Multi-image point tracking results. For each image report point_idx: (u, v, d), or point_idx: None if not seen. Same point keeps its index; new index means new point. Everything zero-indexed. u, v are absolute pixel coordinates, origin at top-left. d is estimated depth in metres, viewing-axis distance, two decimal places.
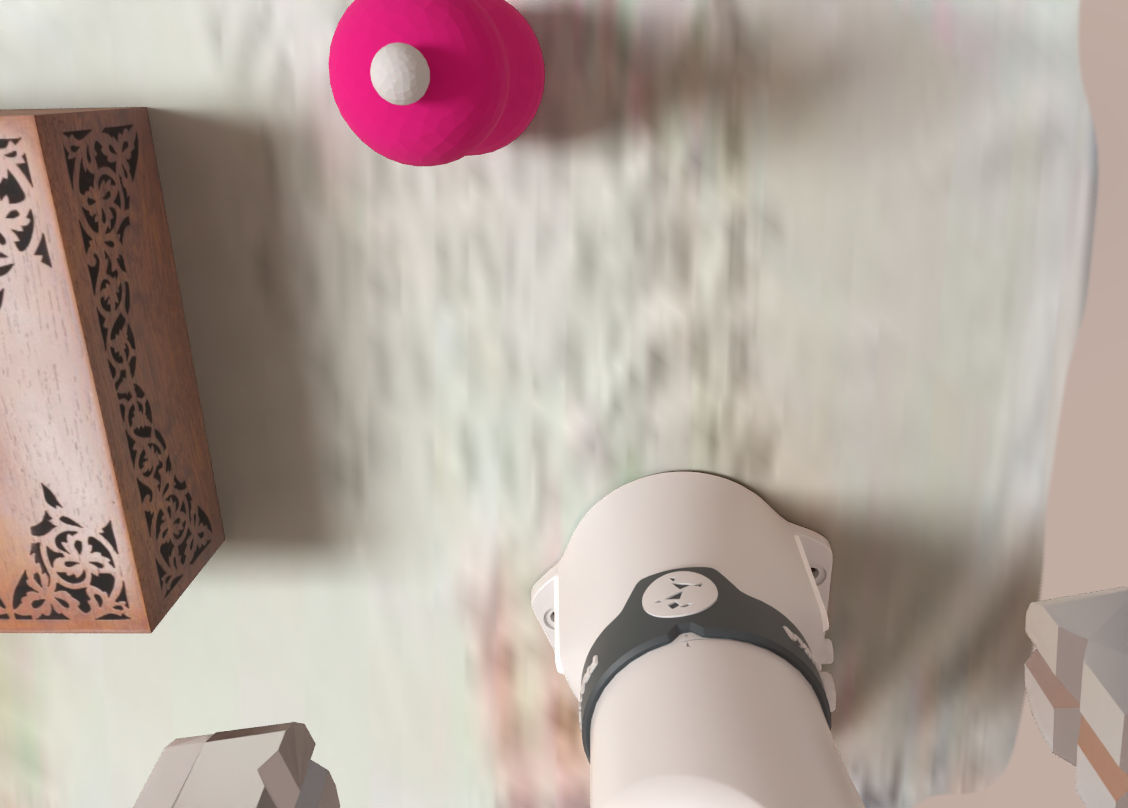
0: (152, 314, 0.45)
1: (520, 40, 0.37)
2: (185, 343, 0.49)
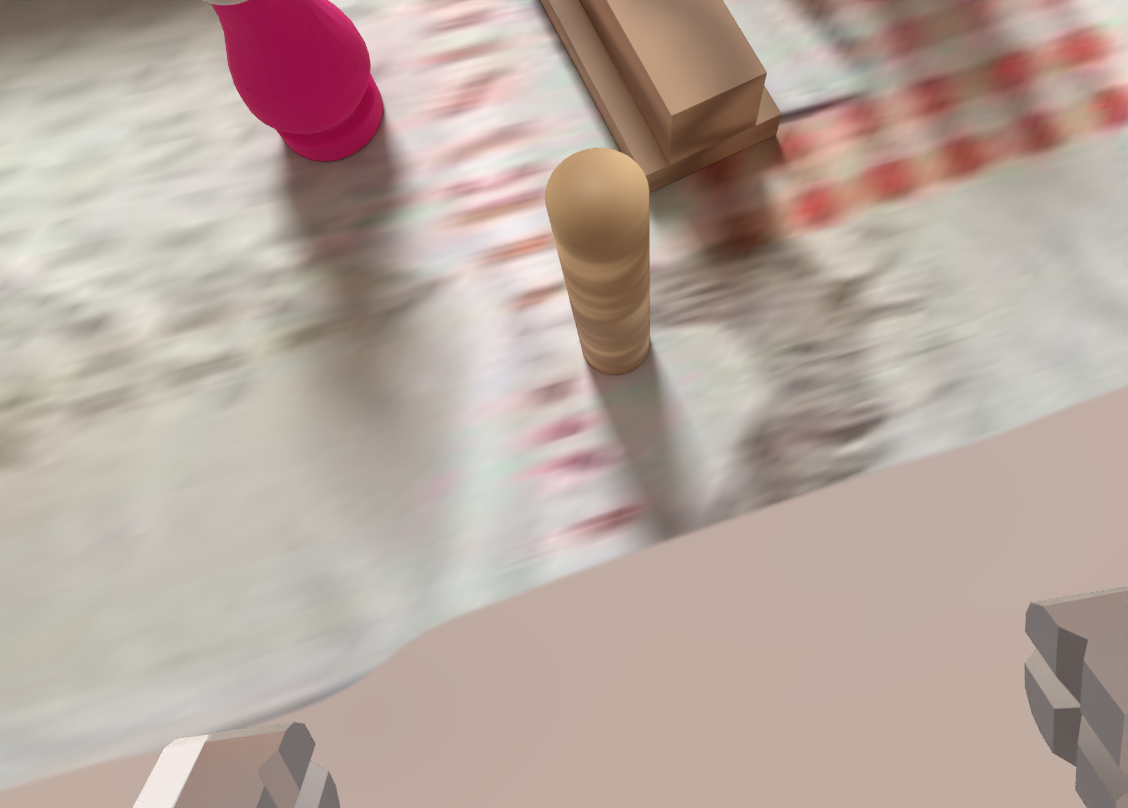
0: None
1: (316, 76, 0.43)
2: None
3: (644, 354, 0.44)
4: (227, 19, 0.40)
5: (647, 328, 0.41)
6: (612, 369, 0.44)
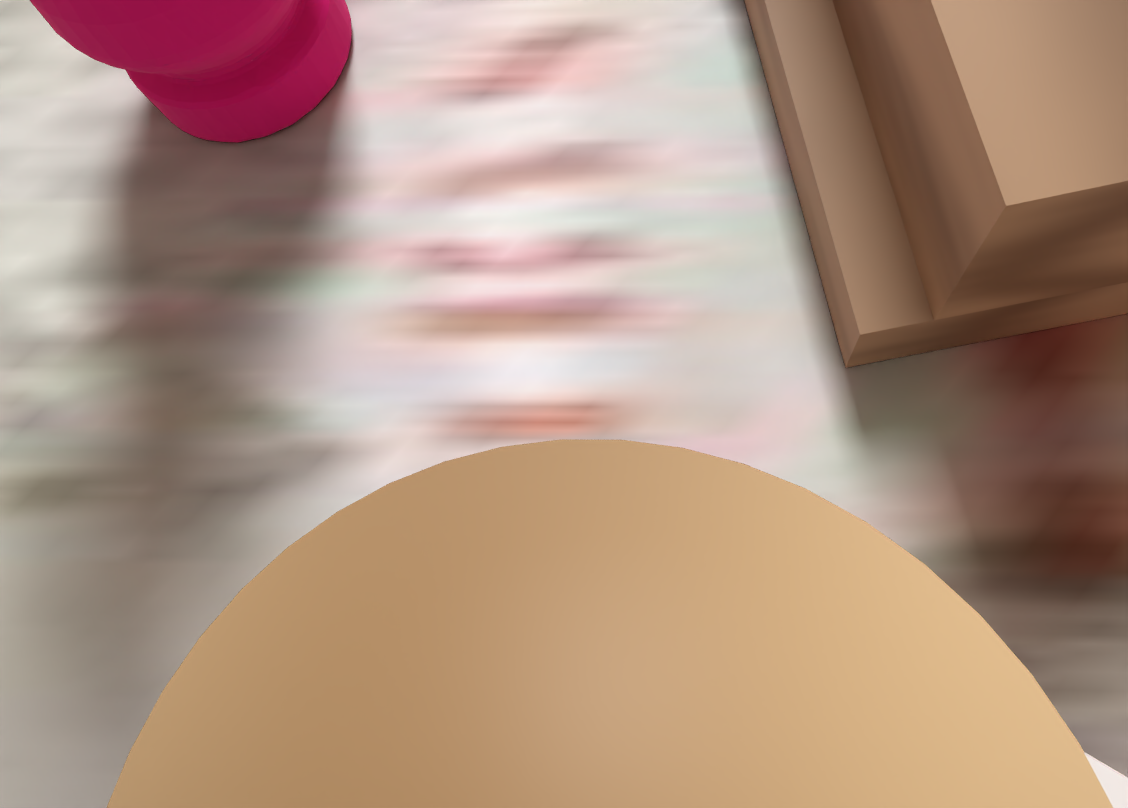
0: None
1: None
2: None
3: None
4: None
5: None
6: None
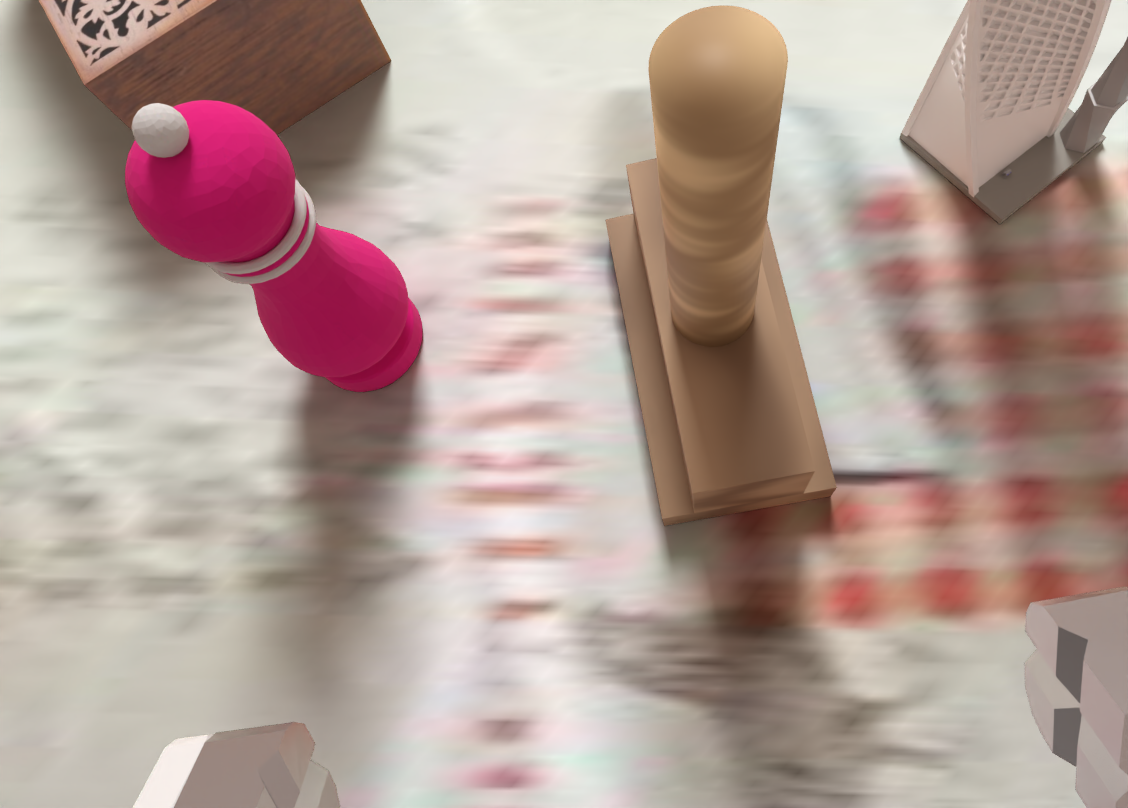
0: None
1: (335, 338, 0.40)
2: None
3: (742, 328, 0.36)
4: None
5: (751, 291, 0.33)
6: (699, 336, 0.36)
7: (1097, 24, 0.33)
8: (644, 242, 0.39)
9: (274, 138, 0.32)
